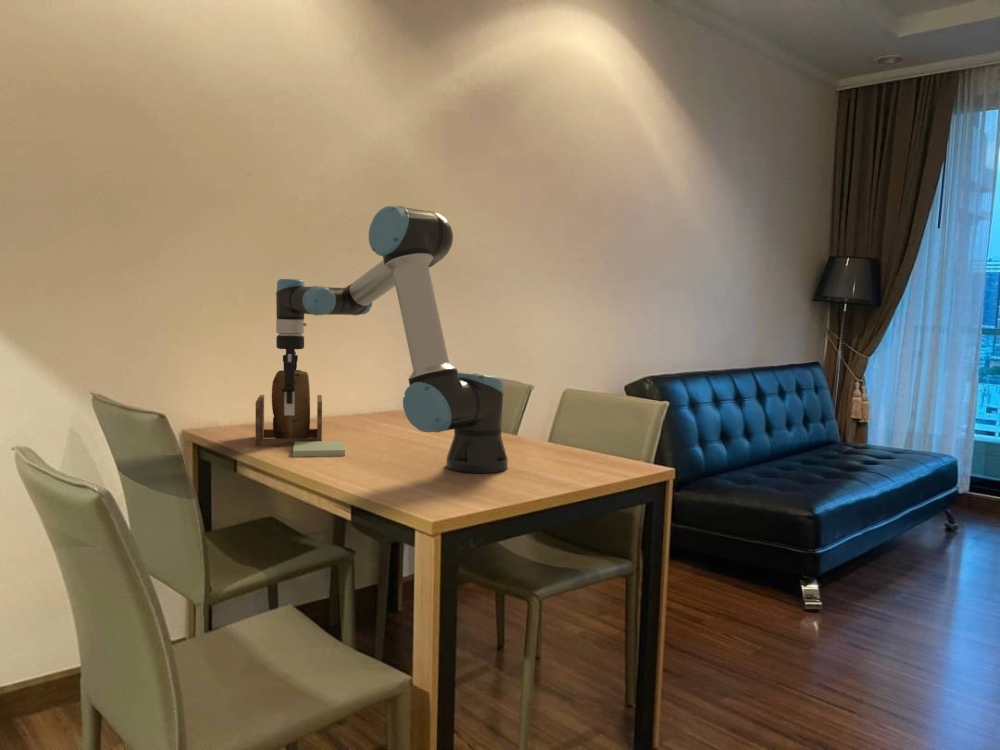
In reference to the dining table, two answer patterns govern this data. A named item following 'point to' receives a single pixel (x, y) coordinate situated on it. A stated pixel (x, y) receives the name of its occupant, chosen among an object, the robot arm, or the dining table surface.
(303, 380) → the block
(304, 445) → the pad
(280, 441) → the slot box
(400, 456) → the dining table surface
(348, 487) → the dining table surface
